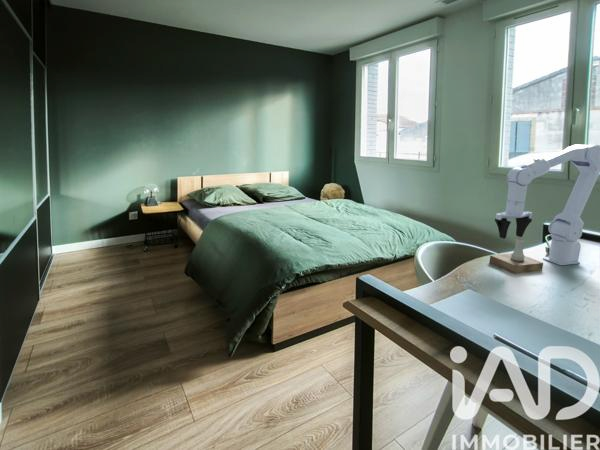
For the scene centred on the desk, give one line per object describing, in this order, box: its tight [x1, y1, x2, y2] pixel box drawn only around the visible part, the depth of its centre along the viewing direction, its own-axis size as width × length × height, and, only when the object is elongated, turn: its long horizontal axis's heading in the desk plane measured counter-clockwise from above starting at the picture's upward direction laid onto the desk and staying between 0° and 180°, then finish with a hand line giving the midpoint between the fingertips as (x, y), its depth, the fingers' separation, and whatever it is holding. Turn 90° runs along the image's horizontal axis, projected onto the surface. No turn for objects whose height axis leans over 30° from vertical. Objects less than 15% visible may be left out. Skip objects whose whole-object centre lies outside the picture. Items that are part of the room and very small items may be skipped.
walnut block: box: [489, 252, 544, 275], centre depth 135 cm, size 12×12×3 cm
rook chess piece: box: [511, 237, 526, 261], centre depth 133 cm, size 4×4×8 cm
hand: (510, 237), depth 136 cm, fingers open, 7 cm apart
